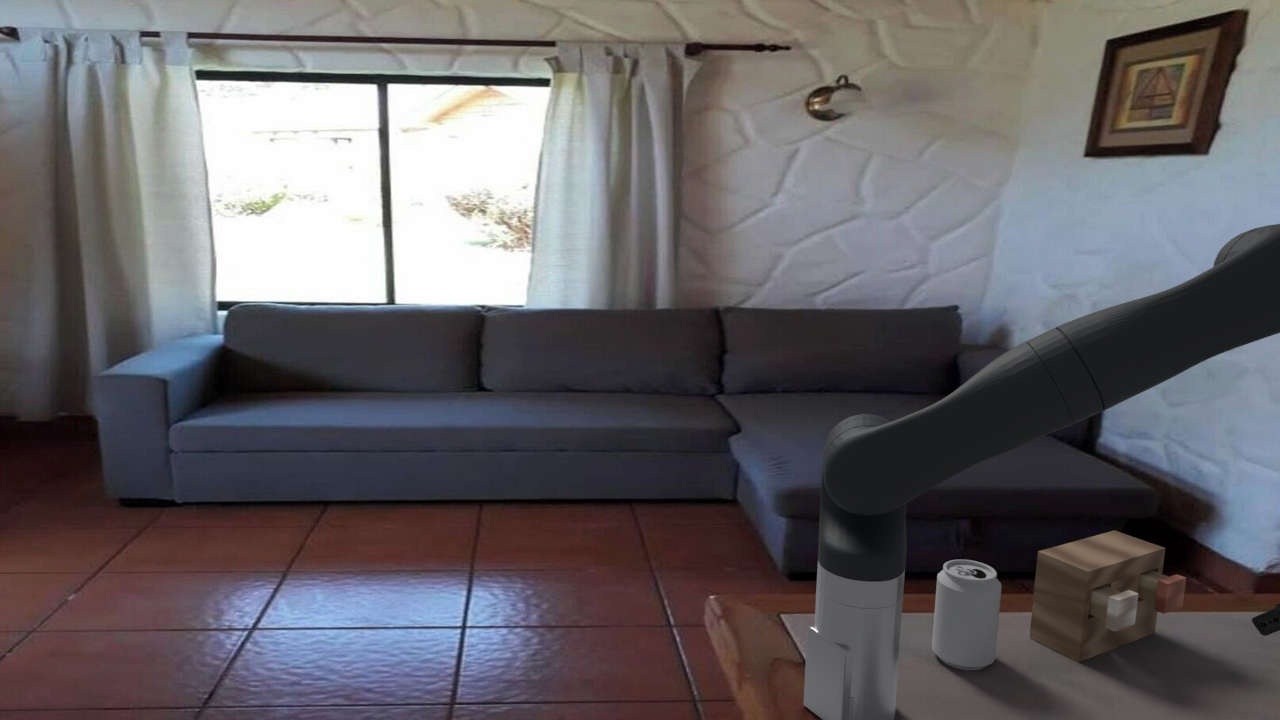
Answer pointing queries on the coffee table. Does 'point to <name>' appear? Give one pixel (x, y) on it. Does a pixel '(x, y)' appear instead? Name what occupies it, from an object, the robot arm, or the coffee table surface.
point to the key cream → (1113, 607)
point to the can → (966, 614)
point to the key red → (1162, 590)
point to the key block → (1068, 592)
